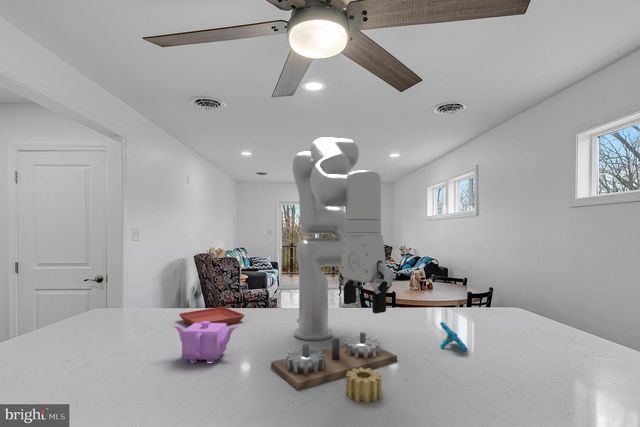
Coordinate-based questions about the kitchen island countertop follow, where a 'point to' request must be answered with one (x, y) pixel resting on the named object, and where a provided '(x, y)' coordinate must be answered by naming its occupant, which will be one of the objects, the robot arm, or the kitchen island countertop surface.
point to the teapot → (204, 340)
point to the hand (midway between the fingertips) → (363, 307)
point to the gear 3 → (451, 338)
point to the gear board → (332, 366)
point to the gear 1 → (305, 360)
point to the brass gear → (363, 384)
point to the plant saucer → (212, 316)
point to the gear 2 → (363, 346)
